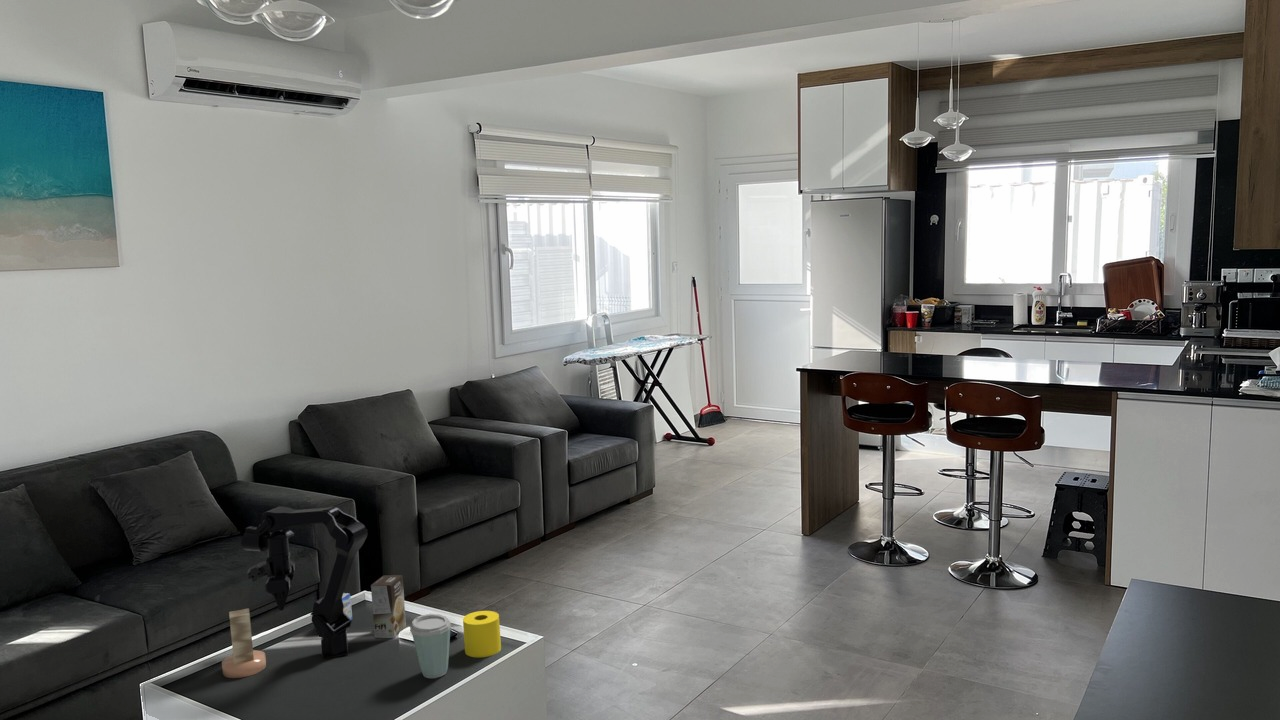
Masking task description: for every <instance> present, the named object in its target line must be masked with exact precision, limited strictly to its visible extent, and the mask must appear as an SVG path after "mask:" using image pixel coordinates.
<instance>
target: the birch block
mask: <svg viewBox="0 0 1280 720" xmlns="http://www.w3.org/2000/svg"><path fill="white" fill-rule="evenodd" d="M228 614H229V624H230V625H229V627H230V636H231V645H232V654H233V658H234V664H236V663H241V662H246V661H251V660H254V656H253V650H254V648H253V637H252V626H251V615H250V608H243V609H237V610H233V611H229V612H228Z"/></svg>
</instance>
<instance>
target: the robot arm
mask: <svg viewBox="0 0 1280 720" xmlns="http://www.w3.org/2000/svg"><path fill="white" fill-rule="evenodd" d="M315 524H317V525H318V524H323V525H324V526H325V527H326V529H327V532H328V534H329V536H330V537H331V538H333V539H334V540H335V543H334V548H335V551H336V557H335V560H334V563H333V567H332V570H331V573H330V576H329V580H328V582H327V586H326V590H325V593H324V596H322V598H319V599H318V600H316V601H314V603H313V608H312V611H311V613H310V616H311V623H312V624H313V626H314V629H315V631H316V633H317V637H318V638H321V640H320V645H321V646H320V647H321V654H322V655H323V659H330V658H336V657H337V656H338V657H343V656H342V655H345V656H348V655H349V648H348V647H349V644H348V633H347V632H348V631H347V629H348V628H350V627H351V624H352V620H351V619H350V618H349V617H348V616H347V615H346V614H345V613H344V612H343V609H344V605H343V601H342V596H343V593H345V590H346V585H347V582H348V579H349V576H350V573H351V569H352V566H353V563H354V559H355V557H356V554H357V553H358V552H359V550H360V549H361V548H362V546H363V545H364V543H365V541H366V539H367V537H368V529H367V528H366V526H365V524H363V523H362V522H360V521H359V520H358V519H356V518H355V517H354V516H352V515H350V514H348V513H345V512H344V511H342V510H341V509H340V508H339V507H337V506H332V505H331V506H330V507H321V508H320V507H319V508H306V509H294V508H291V507H289V506H280V505H279V506H277V507H274V508H272V509H270V510H267V511H265V512H263V513H262V515H261V517H260V521H259V523H258V525H257V526H251V525H250V526H248V527H245V529H244V530H245V531H244V533H243V534H242V538H241V540H240V544H241V545H240V546H241V548H242V549H243V550H244V551H249V552H252V551H253V552H265V551H267V558H266V559H265V560H264V561H261V562H259V563H257V564H255V565H253V566H251V567H249V568H248V570H247V572H246V573H247V576H248V579H249V580H250V581H251V582H252V583H254V582H256V581H258V580H259V579H261V578H263V577H265V576H266V577H267V578H268V579H267V580H266V582H265V585H264V587H265V589H264V590H265V592H266V593H268V594H271V596H273V598H274V601H275V603H276V606H277V608H278V610H279V611H284V609H285V606H286V603H287V600H288V599H287V598H288V596H289V593H290V588H291V585H292V583H293V578H294V575H295V569H296V566H295V565H296V564H295V562H294V561H292V560H291V558H290V557H291V551H290V546H289V538H291V537H293V536H295V533H294V532H293V531H292V530H290V529H289V527H291V526H301V525H304V526H305V525H315ZM338 524H340V525H342V526H343V527H342V528H341V527H340V526H339V525H338ZM281 529H282V530H281ZM334 624H335V625H334ZM332 625H333V626H332ZM331 626H332V627H331ZM338 657H337V658H338Z"/></svg>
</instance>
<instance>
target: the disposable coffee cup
mask: <svg viewBox="0 0 1280 720" xmlns="http://www.w3.org/2000/svg"><path fill="white" fill-rule="evenodd" d="M451 627H452V622H451V621H450V619H449V618H447V616H445V615H442V614H439V613H428V614H421V615H420V616H419V615H418V616H416V617H415V618H414V619H413V620H412V621H411V626H410V628H409V632H410V633H411V636H412V639H413V644H414V647H415V650H416V655H417V659H418V664H419V667H420V671H421V673H422V675H423V677H424V678H427V679H437V678H441V677H443V676H445V675H446V674H447V672H448V669H449V656H450V641H451V640H450V639H451Z"/></svg>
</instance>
